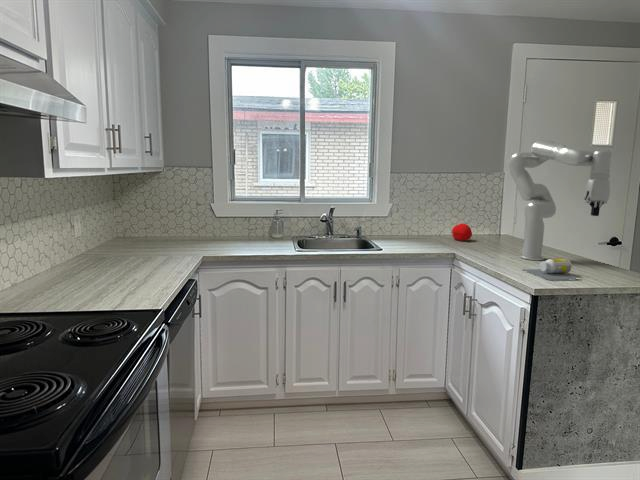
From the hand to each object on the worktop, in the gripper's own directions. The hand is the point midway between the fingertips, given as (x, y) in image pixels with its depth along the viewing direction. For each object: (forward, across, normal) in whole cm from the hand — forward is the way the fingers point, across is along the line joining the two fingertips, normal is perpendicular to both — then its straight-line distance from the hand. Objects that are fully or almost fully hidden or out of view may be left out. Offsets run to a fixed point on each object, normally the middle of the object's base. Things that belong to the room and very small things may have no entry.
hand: (594, 215), depth 211 cm
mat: (+27, +25, +7) cm, 38 cm away
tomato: (+27, +22, -90) cm, 97 cm away
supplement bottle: (+23, +15, +5) cm, 28 cm away
